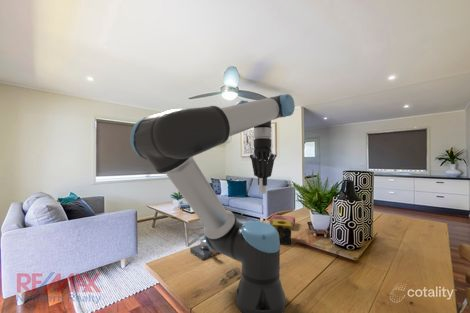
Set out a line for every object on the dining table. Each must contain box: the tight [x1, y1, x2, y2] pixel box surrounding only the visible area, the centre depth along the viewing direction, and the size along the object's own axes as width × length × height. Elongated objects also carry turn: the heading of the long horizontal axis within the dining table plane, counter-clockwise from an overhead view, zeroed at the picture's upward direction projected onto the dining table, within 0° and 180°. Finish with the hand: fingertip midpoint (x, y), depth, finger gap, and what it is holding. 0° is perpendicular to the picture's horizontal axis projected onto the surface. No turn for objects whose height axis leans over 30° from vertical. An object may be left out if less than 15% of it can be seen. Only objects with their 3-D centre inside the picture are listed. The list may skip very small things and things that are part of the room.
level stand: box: [189, 243, 219, 260], centre depth 101 cm, size 24×10×9 cm, turn 134°
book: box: [268, 214, 296, 231], centre depth 135 cm, size 14×15×5 cm
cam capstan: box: [200, 237, 217, 256], centre depth 96 cm, size 15×6×5 cm, turn 31°
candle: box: [272, 219, 292, 246], centre depth 111 cm, size 10×10×10 cm
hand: (262, 193), depth 88 cm, fingers closed
